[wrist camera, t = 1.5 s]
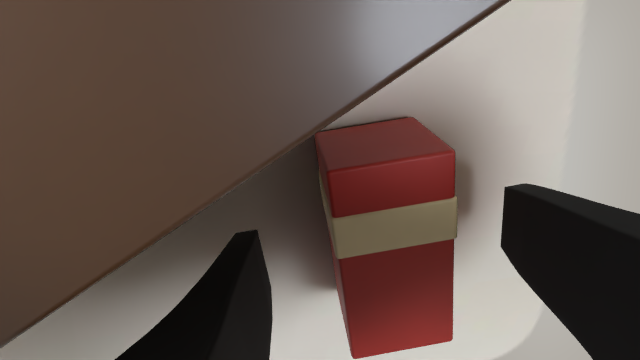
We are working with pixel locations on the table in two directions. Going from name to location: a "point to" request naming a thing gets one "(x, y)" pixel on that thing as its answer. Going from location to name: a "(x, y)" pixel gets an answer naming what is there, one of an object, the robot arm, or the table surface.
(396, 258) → the red rectangular block
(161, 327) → the robot arm
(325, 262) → the table surface
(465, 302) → the table surface
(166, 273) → the table surface
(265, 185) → the table surface
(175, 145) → the cabinet
